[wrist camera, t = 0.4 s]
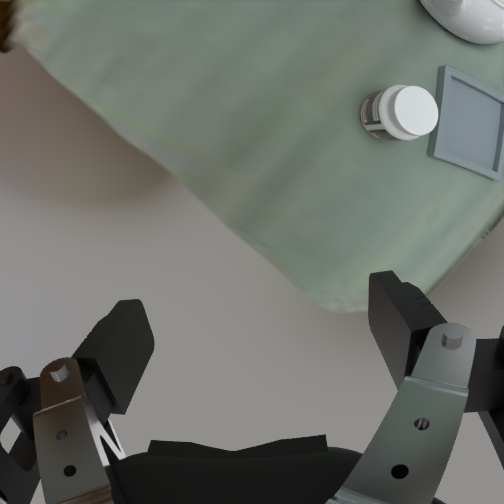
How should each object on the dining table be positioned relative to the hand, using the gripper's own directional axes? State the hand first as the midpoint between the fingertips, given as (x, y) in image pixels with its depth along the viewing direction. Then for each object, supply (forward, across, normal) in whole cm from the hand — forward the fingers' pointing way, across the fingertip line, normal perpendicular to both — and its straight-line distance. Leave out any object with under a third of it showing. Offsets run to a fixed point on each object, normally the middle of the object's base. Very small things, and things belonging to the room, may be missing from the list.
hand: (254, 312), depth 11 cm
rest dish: (+28, -28, -6) cm, 40 cm away
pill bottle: (+28, -15, -7) cm, 32 cm away
